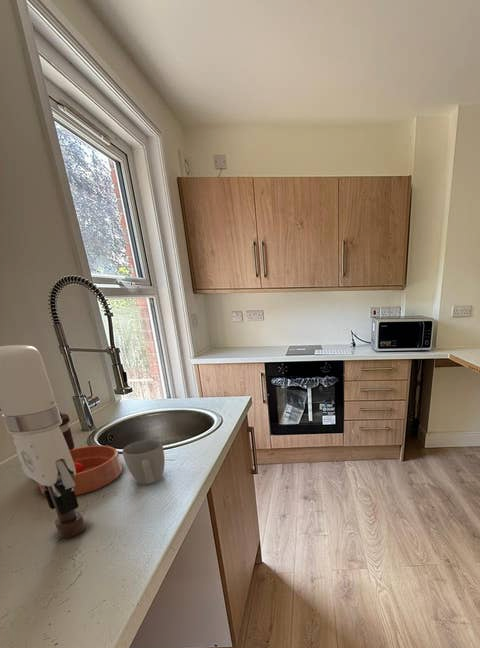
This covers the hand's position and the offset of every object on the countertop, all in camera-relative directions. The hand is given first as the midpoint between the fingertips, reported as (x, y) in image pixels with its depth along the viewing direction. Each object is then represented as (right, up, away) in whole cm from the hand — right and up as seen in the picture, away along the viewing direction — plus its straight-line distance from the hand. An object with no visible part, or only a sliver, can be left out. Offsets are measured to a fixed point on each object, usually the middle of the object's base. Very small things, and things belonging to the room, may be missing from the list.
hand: (64, 507), depth 67 cm
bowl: (-11, +2, +22) cm, 25 cm away
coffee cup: (-24, +5, +31) cm, 40 cm away
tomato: (-14, +5, +22) cm, 27 cm away
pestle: (0, -5, +2) cm, 6 cm away
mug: (+7, +1, +20) cm, 21 cm away
